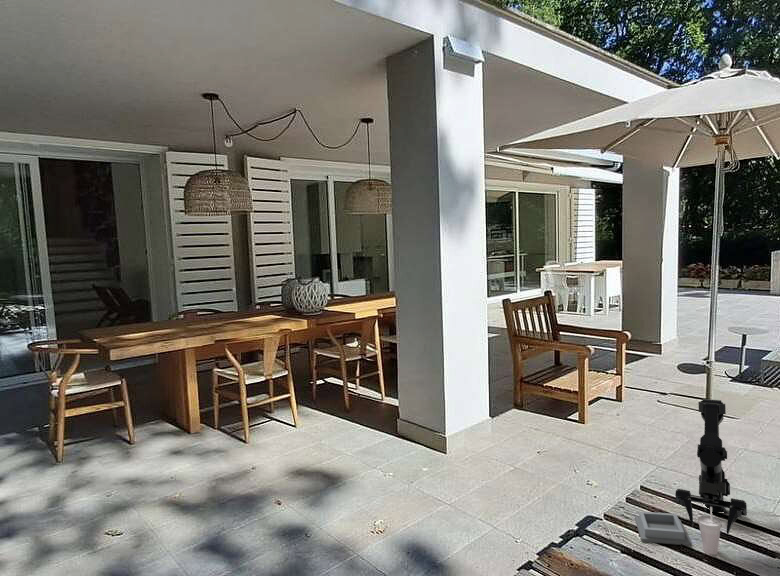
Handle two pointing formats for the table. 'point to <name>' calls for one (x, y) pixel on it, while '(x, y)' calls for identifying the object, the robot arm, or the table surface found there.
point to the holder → (661, 528)
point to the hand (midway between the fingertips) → (709, 529)
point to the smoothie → (710, 532)
